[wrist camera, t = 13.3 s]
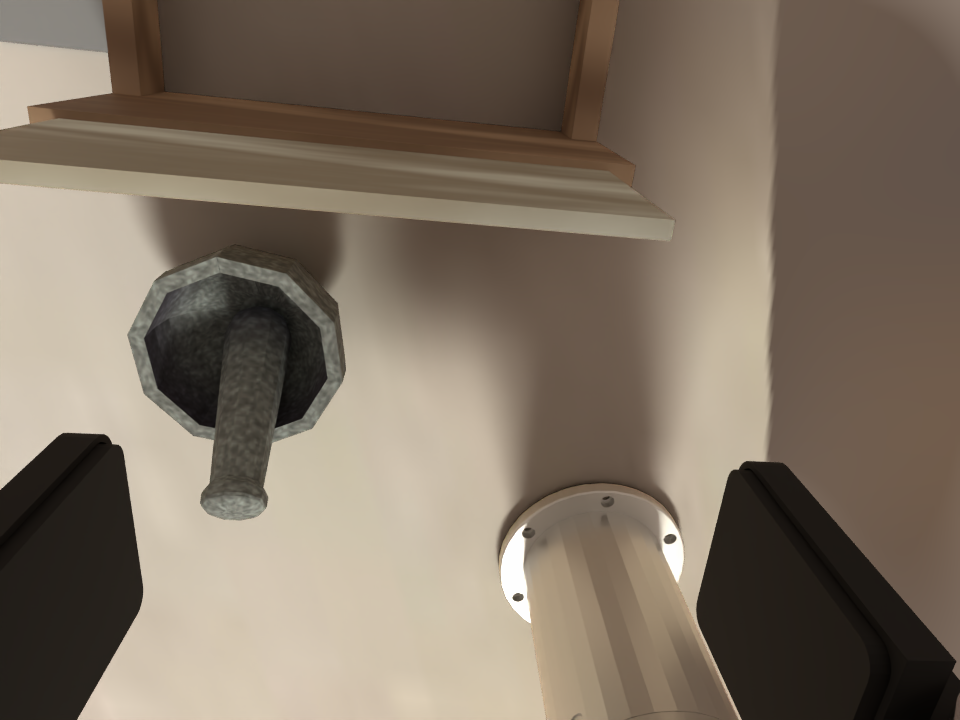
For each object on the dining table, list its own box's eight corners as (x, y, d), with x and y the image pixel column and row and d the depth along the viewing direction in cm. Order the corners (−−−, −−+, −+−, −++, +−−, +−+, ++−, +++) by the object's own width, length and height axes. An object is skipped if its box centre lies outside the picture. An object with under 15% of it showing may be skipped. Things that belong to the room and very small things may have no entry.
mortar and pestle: (164, 224, 36) (46, 303, 25) (343, 215, 36) (304, 289, 25) (208, 411, 41) (125, 546, 30) (366, 401, 41) (341, 531, 30)
